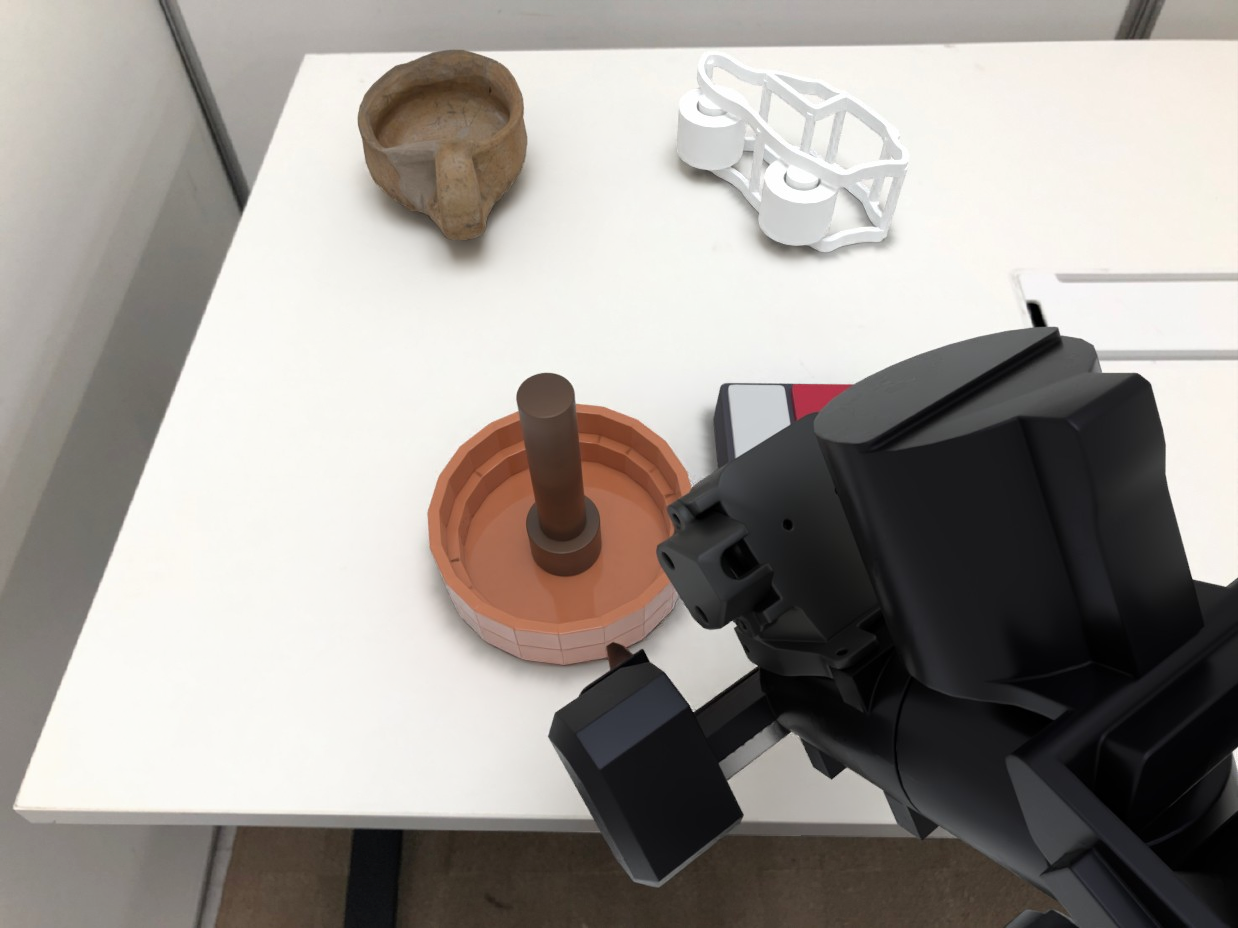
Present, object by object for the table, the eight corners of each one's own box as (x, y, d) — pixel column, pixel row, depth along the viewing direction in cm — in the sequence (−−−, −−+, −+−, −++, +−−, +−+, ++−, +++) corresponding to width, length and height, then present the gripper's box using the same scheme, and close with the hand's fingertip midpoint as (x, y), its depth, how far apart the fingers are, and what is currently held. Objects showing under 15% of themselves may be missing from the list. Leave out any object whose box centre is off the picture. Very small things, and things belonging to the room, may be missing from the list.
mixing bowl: (715, 642, 50) (723, 607, 46) (452, 688, 49) (435, 655, 45) (663, 433, 59) (665, 387, 55) (437, 467, 58) (422, 422, 54)
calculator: (991, 522, 50) (736, 521, 50) (964, 556, 54) (726, 555, 53) (948, 376, 57) (721, 374, 56) (926, 416, 60) (712, 414, 60)
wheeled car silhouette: (652, 150, 76) (654, 72, 70) (751, 107, 79) (761, 29, 73) (800, 284, 67) (817, 208, 60) (905, 229, 70) (931, 151, 64)
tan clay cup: (597, 214, 69) (557, 118, 61) (448, 304, 69) (387, 222, 61) (511, 95, 78) (466, -3, 69) (379, 176, 78) (317, 88, 69)
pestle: (607, 570, 53) (598, 424, 40) (535, 582, 52) (503, 438, 40) (595, 509, 55) (583, 353, 42) (527, 520, 55) (494, 366, 42)
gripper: (1119, 302, 24) (795, 333, 38) (556, 676, 18) (422, 548, 33) (1214, 630, 27) (879, 545, 41) (753, 1041, 21) (550, 777, 36)
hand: (700, 595), depth 38 cm, fingers open, 9 cm apart
